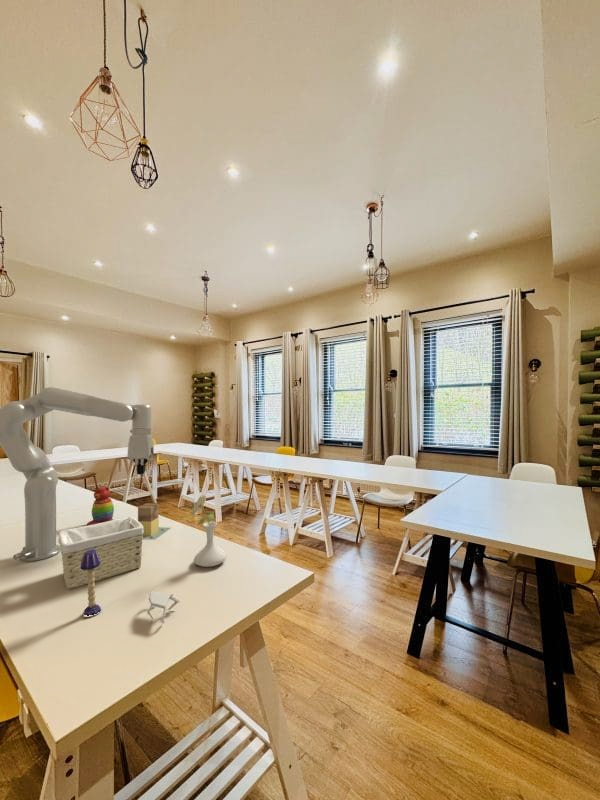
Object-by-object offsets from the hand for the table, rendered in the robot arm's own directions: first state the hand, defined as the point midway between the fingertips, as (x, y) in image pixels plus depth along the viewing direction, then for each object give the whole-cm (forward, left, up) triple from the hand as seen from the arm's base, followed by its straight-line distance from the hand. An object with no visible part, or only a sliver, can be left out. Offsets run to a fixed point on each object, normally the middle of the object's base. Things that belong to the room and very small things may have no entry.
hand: (140, 473), depth 149 cm
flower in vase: (-24, -40, -27) cm, 54 cm away
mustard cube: (0, -3, -26) cm, 26 cm away
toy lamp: (-55, -19, -27) cm, 64 cm away
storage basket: (-32, -5, -27) cm, 42 cm away
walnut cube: (0, -3, -20) cm, 20 cm away
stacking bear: (+12, +28, -27) cm, 41 cm away
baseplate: (0, -3, -27) cm, 27 cm away
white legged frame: (-53, -38, -27) cm, 71 cm away
